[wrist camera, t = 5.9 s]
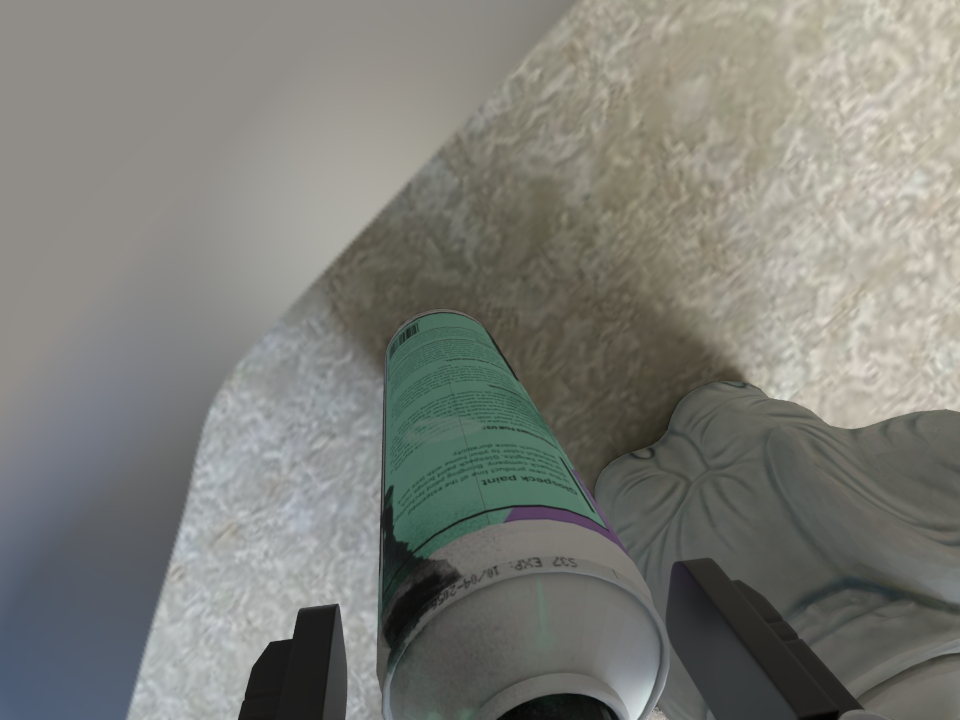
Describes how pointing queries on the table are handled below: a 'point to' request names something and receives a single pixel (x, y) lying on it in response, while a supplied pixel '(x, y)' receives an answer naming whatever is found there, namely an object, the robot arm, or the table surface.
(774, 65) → the table surface
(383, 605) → the spray can
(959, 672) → the teapot
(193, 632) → the table surface
